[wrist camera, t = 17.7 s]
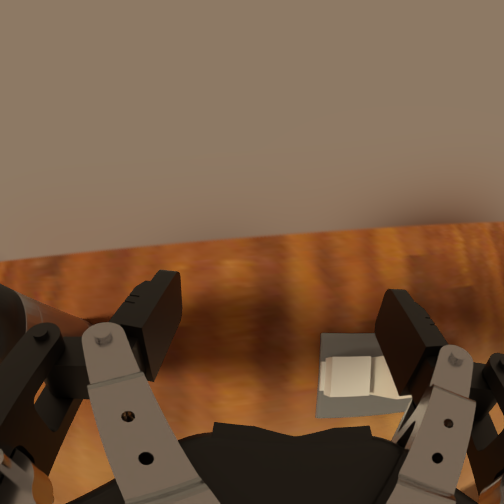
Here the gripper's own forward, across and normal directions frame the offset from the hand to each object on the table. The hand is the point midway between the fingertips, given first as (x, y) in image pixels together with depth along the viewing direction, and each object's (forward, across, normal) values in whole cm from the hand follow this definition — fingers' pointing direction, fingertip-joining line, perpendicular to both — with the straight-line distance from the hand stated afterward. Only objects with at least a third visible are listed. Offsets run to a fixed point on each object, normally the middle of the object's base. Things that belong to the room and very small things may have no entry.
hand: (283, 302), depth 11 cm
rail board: (+18, -17, +23) cm, 34 cm away
